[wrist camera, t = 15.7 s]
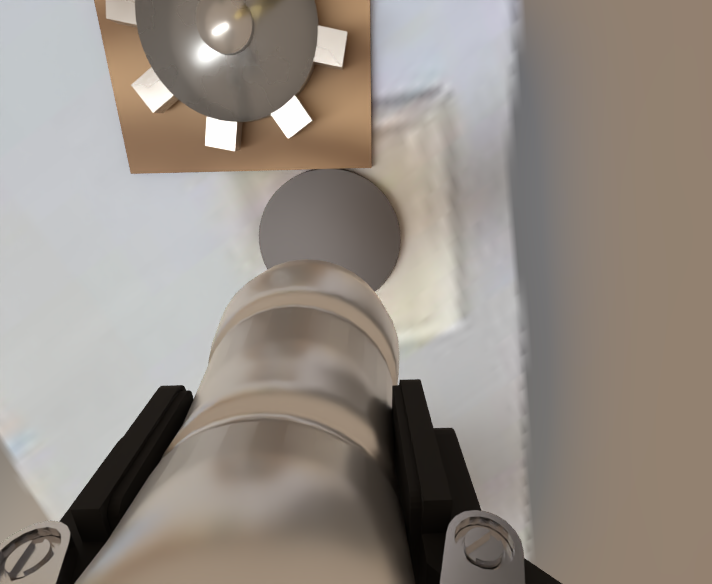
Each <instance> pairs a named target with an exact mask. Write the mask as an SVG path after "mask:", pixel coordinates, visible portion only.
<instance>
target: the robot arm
mask: <svg viewBox="0 0 712 584" xmlns="http://www.w3.org/2000/svg"><path fill="white" fill-rule="evenodd" d="M192 402H193V395H192V392H191V391H186V389H185V387H184V386H182V385H176V386H161V387H159V388H158V390H157V391H156V393H155V394H154V395H153V397H152V398H151V399H150V401H149V402H148V404H147V405H146V406H145V408H144V409H143V410H142V412H141V413H140V414H139V416H138V417H137V419H136V420H135V421H134V423H133V424H132V425H131V427H130V428H129V430H128V431H127V432H126V434H125V435H124V436H123V438H121V439H120V440H119V441H118V442H117V444H116V445H115V447H114V448H113V449H112V451H111V452H110V453H109V455H108V456H107V457H106V459H105V460H104V462H103V463H102V464H101V466H100V467H99V468H98V470H97V471H96V472H95V474H94V475H93V477H92V478H91V479H90V481H89V482H88V483H87V485H86V486H85V487H84V489H83V490H82V492H81V493H80V494H79V496H78V497H77V498H76V500H75V501H74V502H73V504H72V505H71V507H70V508H69V509H68V511H67V512H66V513H65V515H64V516H63V517H62V519H61V520H60V522H58V521H46V522H40V523H37V524H34V525H31V526H28V527H26V528H24V529H22V530H20V531H18V532H16V533H14V534H13V535H11V536H10V537H9V538H7V539H6V540H5V541H3V542H2V543H0V584H74V583H75V582H76V581H77V579H78V578H79V577H80V576H81V574H82V573H83V572H84V570H85V569H86V568H87V567H88V565H89V564H90V563H91V561H92V560H93V559H94V558H95V556H96V555H97V554H98V552H99V551H100V550H101V548H102V547H103V546H104V545H105V543H106V542H107V540H108V539H109V537H110V536H111V534H112V533H113V531H114V530H115V528H116V527H117V525H118V523H119V522H120V520H121V519H122V517H123V516H124V514H125V513H126V511H127V510H128V508H129V507H130V505H131V503H132V502H133V500H134V499H135V497H136V496H137V494H138V493H139V491H140V490H141V488H142V486H143V485H144V483H145V482H146V480H147V479H148V477H149V476H150V474H151V473H152V472H153V470H154V469H155V468H156V466H157V465H158V464H159V462H160V461H161V459H162V456H163V454H164V453H165V451H166V450H167V448H168V447H169V445H170V443H171V442H172V440H173V439H174V437H175V436H176V434H177V433H178V431H179V430H180V428H181V427H182V425H183V423H184V421H185V418H186V416H187V414H188V411H189V409H190V407H191V404H192ZM392 415H393V432H394V458H395V472H396V478H397V483H398V489H399V497H400V506H401V509H402V511H403V517H404V523H405V528H406V534H407V540H408V545H409V551H410V557H411V562H412V568H413V574H414V579H415V584H561V583H560V582H559V581H557V580H556V579H554V578H553V577H551V576H550V575H548V574H547V573H545V572H544V571H542V570H541V569H539V568H538V567H537V566H535V565H534V564H532V563H531V562H529V561H528V560H526V559H525V558H524V552H523V547H522V543H521V540H520V538H519V536H518V535H517V533H516V531H515V530H514V529H513V528H512V527H511V526H510V525H509V524H508V523H507V522H506V521H505V520H503V519H502V518H500V517H498V516H497V515H494V514H492V513H489V512H486V511H481V508H480V505H479V502H478V499H477V496H476V493H475V490H474V487H473V484H472V481H471V478H470V475H469V472H468V469H467V466H466V463H465V460H464V457H463V454H462V451H461V448H460V445H459V442H458V439H457V436H456V433H455V431H454V429H453V428H433V425H432V422H431V418H430V414H429V410H428V407H427V403H426V399H425V395H424V392H423V388H422V384H421V381H420V379H416V380H400V383H399V385H393V386H392Z"/></svg>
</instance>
